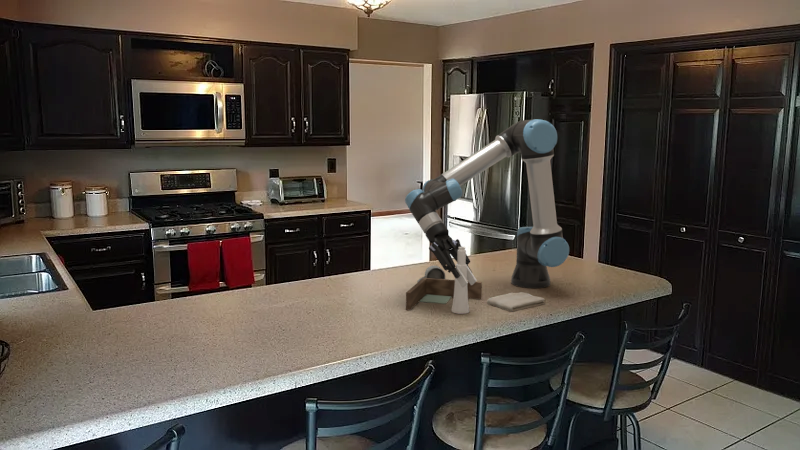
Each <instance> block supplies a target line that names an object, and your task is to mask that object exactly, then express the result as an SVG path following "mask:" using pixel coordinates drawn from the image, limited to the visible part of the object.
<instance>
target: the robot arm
mask: <svg viewBox="0 0 800 450" xmlns="http://www.w3.org/2000/svg"><path fill="white" fill-rule="evenodd" d="M557 143H558V131H557V130H556V128H555V126H554V125H553V124H552V123H551V122H549V121H548V120H545V119H544V120H543V119H539V118H538V119H535V118H534V119H523V120H519V121H517V122H515V123H513V124H512V125H510V126H509V127H508V128H506V129H504V130H503V131H502V132H500V133H499V134H497V135H496V136H495V138H494V140H493V141H490V142H489V143H488V144H487V145H485V146H483V147H482V148H480V149H478V150H477V151H476V152H474V153H473V154H471V155H469V156H468V157H467V158H465V159H463V160H461V161H460V162H459V163H457V164H455V165H454V166H453V167H451V168H449V169H447V171H445V172H443V173H441V174H440V175H438V176H436V177H435V178H432V179H429V180H427V181H425V182H424V184H423V185H422V189H420V188H417V189H413V190H411V191H410V192H408V193H407V195H406V196H405V199H404V202H405V204H406V207H407V208H408V210H409V212H410V213H411V215H412V216H413V217H414V219H415V220H416V222H417V224H418V225H419V226H420V229H421V230H422V232H423V233H424V234H425V237H426V238H427V241H429V243H430V244H431V245H430V246H429V247H428V249H429V251H430V252H432V254H433V255H434V257H435V258H436V259H437V260H438V262H439V264H440V265H441V267H442V269H443V271H447V272H448V273H452V275H453V277H454V279H455V278H456V279H457V280H458V282H459V283H460V285H461V286H462V288H463V287H465V286H466V285H467V284H468V282H469V283H470V285H473V284H474V283H475V282H478V280H477V278H476V276H475V275H474V274H473V271H472V269H471V267H470V266H469V265H470V264H471V260H470V258H469V256H468V255H467V254H466V264H467V280H466V278H465V277H464V275H463V274H462V272H461V270H460V269H459V267H456V264H455V262H456V263H457V253H458V250H459V248H458V247H463V245H461V241H460V240H459V239H458V238H457V239H452V237H451V236H450V235H449V231H450V230H449V229H448V228H447V226H446V224H445V223H444V222H443V219H442V218H441V217H440V215H439V213H438V212H437V211H438V210H440V209H441V208H444V207H445V206H447V205H449V204H451V203H453V202H456V201H457V200H458V199H460V198H462V196H463V189H462V187H461V186H463V185H464V184H466V183H467V182H469V181H470V180H472V179H473V178H475V177H477V176H478V175H480V174H481V173H483V172H484V171H486V170H488V169H489V168H490V167H492V166H494V165H495V164H497V163H499V162H501V161H502V160H503V159H504V158H510V157H513V156H515V155H517V154H518V153H520V159H521V161H523V162H524V163H525V165H526V174H527V181H528V190H529V199H530V201H529V202H530V207H531V209H530V210H531V217H532V218H531V219H532V224H533V225H532V226H522V227H521V226H520V227H518V229H517V232H516V234H517V235H516V259H515V260H516V262H515V267H514V270H513V272H512V275H511V279H510V281H511V282H510V283H511V285H513V286H516V287H520V288H527V289H541V288H543V289H544V288H548V287H550V285H551V278H550V275H549V271H548V268H547V267H549V268H556V267H558V266H561V265H562V264H564V263H565V261H566V260H567V259H568V257H569V254H570V246H569V243H568V242H567V241H566V239H565V238H564V237H563V235H564V234H563V228H562V227H561V226H560V225H559V224H558V221H557V219H558V218H557V212H556V202H555V194H554V192H555V191H554V185H553V184H554V183H553V182H554V181H553V174H552V164H551V161H552V160H551V159H552V158H553V157H554V156H555V151H554V148H555V146H556V145H557ZM453 259H454V260H455V262H454V260H453Z"/></svg>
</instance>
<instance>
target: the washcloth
mask: <svg viewBox="0 0 800 450" xmlns="http://www.w3.org/2000/svg"><path fill="white" fill-rule="evenodd" d="M486 301H487V304H488V305H489V306H492V307H494V308H495V307H496V308H499V309H501V310H505V311H508V312H511V313H513V312H515V311H520V310H526V309H529V308H534V307H538V306H542V305H546V303H545V301H546V299H545V298H544V297H541V296H536V295H532V294H531V293H528V292H523V291H520V292H509V293H505V294H500V295H497V296H496V295H495V296H492V297H489V298H488V299H487V300H486Z"/></svg>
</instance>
